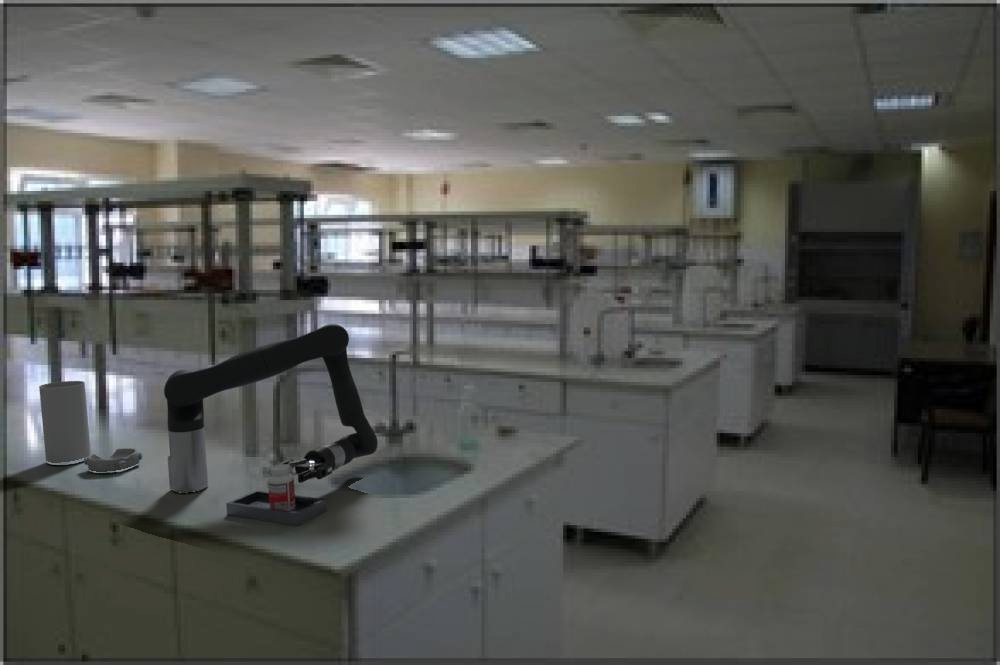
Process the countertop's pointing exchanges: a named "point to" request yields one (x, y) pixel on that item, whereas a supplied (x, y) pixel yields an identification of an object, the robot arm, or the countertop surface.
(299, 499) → the rectangular tray
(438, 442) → the countertop surface
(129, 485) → the countertop surface
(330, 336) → the robot arm
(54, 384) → the cylinder vase
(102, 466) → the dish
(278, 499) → the pill bottle
